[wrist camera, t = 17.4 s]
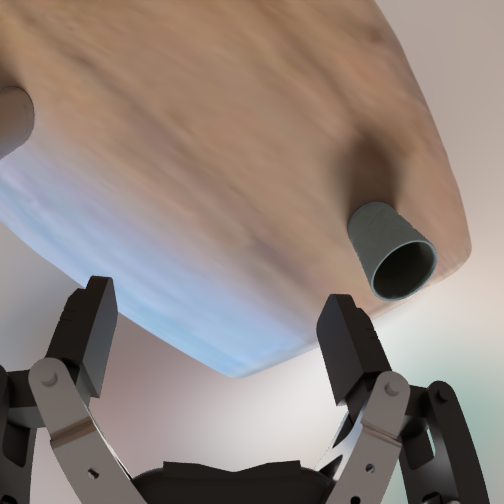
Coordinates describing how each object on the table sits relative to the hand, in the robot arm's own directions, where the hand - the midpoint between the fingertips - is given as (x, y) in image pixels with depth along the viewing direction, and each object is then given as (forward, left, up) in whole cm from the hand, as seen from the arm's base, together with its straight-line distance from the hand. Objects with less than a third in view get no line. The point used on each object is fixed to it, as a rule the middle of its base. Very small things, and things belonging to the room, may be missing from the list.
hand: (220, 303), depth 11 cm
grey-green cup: (+25, -12, -30) cm, 41 cm away
